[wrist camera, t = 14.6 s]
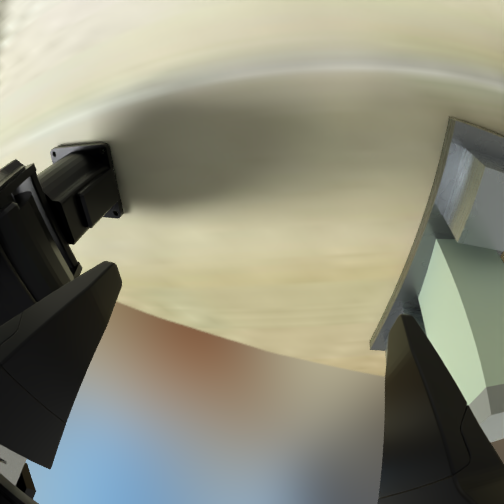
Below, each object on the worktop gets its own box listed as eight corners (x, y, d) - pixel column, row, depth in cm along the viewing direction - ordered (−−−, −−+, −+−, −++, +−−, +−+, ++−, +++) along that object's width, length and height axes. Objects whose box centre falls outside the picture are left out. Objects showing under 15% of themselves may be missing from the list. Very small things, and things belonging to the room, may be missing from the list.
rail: (369, 341, 28) (371, 375, 25) (449, 116, 14) (478, 136, 11) (436, 345, 27) (442, 377, 24) (533, 149, 13) (564, 174, 10)
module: (418, 298, 22) (441, 452, 12) (436, 238, 18) (491, 415, 8) (467, 297, 21) (503, 438, 11) (490, 240, 17) (557, 395, 7)
